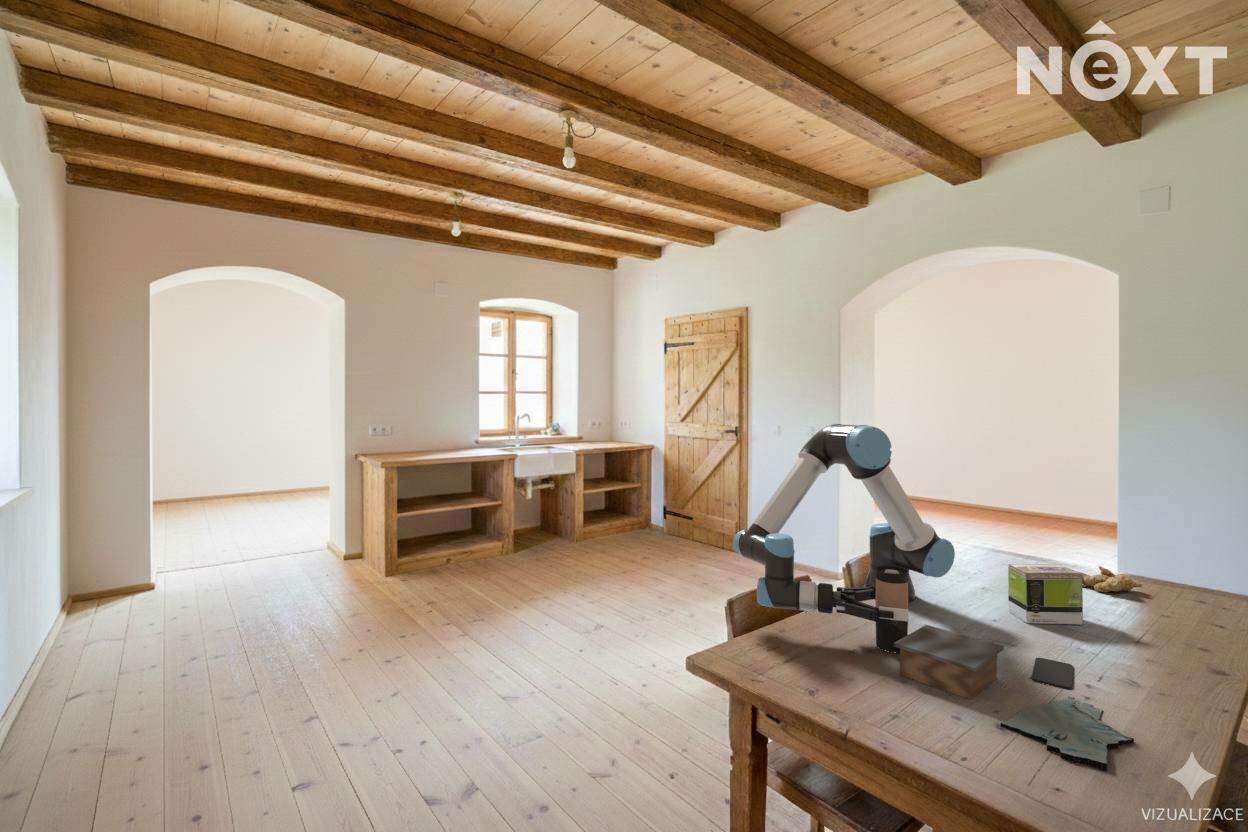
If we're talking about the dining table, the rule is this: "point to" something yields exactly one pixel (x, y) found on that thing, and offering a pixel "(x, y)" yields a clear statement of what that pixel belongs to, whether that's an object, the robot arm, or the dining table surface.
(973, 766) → the dining table surface
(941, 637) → the podium
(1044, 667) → the phone
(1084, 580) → the ginger root
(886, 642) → the travel mug
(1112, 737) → the decorative slab
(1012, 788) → the dining table surface
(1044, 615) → the tea box
